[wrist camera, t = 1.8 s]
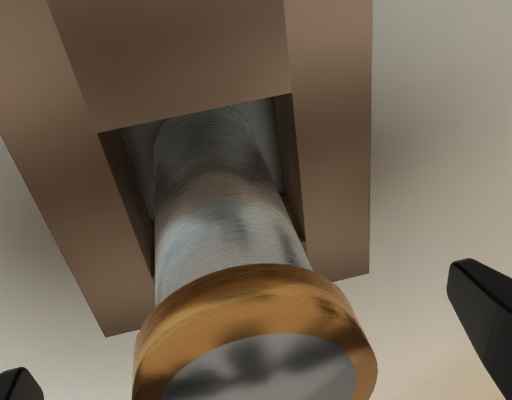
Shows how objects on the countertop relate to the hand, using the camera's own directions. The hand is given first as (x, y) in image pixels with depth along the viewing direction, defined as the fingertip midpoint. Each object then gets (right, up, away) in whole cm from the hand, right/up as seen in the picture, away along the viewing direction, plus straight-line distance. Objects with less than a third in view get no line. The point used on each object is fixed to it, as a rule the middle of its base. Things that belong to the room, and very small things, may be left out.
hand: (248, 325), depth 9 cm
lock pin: (-2, +4, +7) cm, 8 cm away
